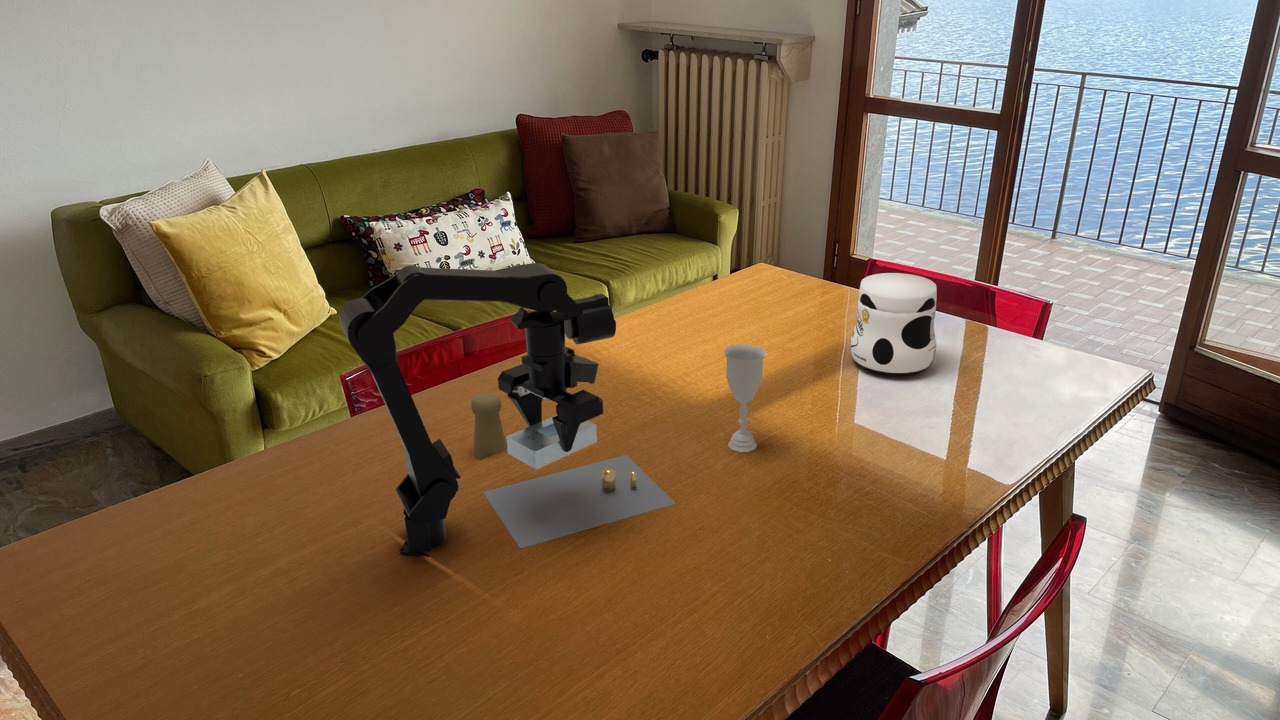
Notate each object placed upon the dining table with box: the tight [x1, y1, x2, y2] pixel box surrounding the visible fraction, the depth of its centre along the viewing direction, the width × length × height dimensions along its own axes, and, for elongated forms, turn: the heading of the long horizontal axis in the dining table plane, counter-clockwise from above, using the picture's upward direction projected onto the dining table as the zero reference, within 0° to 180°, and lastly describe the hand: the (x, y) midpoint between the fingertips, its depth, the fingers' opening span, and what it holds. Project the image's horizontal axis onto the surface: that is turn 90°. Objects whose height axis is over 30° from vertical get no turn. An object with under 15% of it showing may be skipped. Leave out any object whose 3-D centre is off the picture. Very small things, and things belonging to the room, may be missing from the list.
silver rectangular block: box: [505, 414, 598, 470], centre depth 145 cm, size 12×7×3 cm, turn 134°
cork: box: [470, 392, 507, 460], centre depth 165 cm, size 6×6×11 cm
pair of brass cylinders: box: [601, 467, 637, 493], centre depth 152 cm, size 6×2×4 cm, turn 92°
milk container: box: [850, 272, 938, 376], centre depth 195 cm, size 17×17×18 cm
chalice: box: [723, 344, 767, 453], centre depth 164 cm, size 7×7×18 cm
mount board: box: [482, 454, 677, 550], centre depth 151 cm, size 26×18×1 cm
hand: (552, 442), depth 145 cm, fingers closed on silver rectangular block, 7 cm apart
